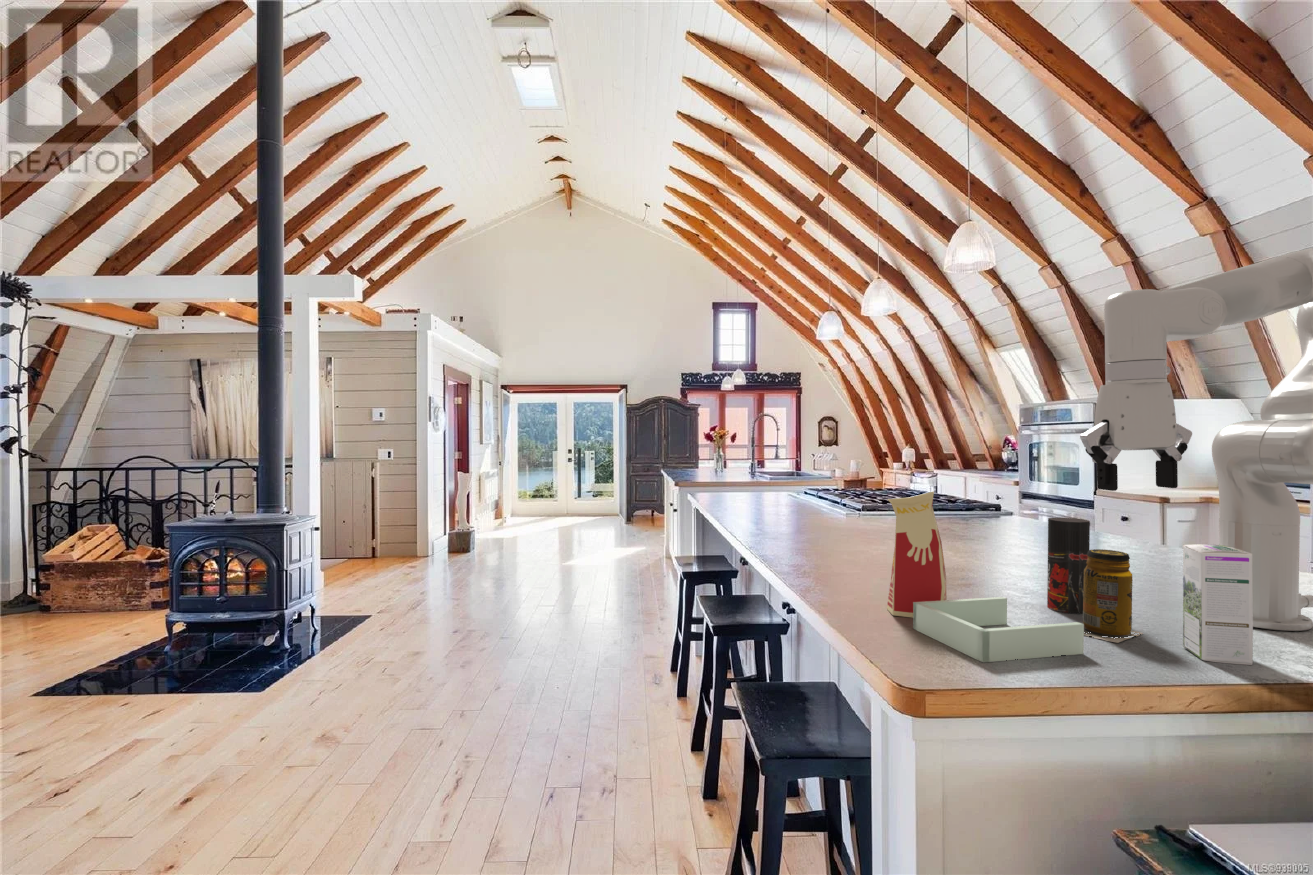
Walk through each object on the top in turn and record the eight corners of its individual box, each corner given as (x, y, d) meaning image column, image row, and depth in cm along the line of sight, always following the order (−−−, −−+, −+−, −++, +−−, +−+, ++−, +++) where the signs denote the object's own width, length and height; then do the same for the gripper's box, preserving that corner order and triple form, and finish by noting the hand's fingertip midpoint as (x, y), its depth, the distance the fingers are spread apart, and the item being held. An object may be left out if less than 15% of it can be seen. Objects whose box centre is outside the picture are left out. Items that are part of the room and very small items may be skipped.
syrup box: (1255, 666, 85) (1256, 552, 85) (1199, 661, 87) (1201, 549, 87) (1231, 651, 91) (1233, 545, 91) (1180, 647, 93) (1181, 542, 92)
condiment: (1143, 634, 99) (1144, 553, 99) (1117, 644, 94) (1118, 559, 94) (1089, 622, 105) (1090, 545, 105) (1062, 631, 100) (1063, 551, 100)
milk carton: (946, 608, 113) (947, 489, 113) (945, 622, 104) (946, 494, 104) (889, 602, 117) (890, 487, 116) (883, 615, 108) (884, 491, 108)
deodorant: (1096, 614, 109) (1097, 522, 109) (1060, 613, 110) (1061, 522, 109) (1074, 604, 115) (1075, 517, 115) (1040, 604, 115) (1040, 517, 115)
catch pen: (1002, 622, 104) (1002, 596, 104) (1083, 654, 90) (1083, 624, 90) (913, 628, 101) (913, 602, 101) (982, 662, 86) (982, 631, 86)
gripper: (1166, 375, 105) (1168, 484, 105) (1063, 377, 103) (1065, 488, 103) (1211, 371, 97) (1212, 488, 98) (1101, 373, 96) (1103, 493, 96)
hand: (1137, 488), depth 101 cm, fingers open, 9 cm apart
